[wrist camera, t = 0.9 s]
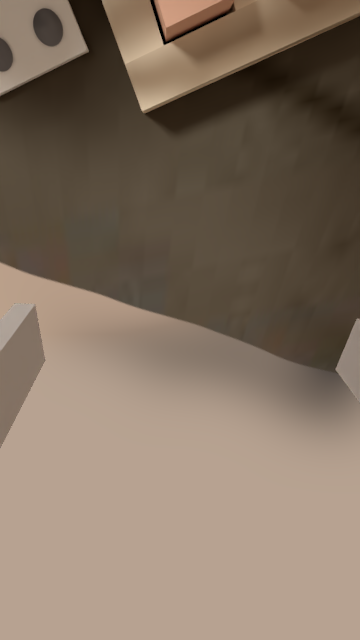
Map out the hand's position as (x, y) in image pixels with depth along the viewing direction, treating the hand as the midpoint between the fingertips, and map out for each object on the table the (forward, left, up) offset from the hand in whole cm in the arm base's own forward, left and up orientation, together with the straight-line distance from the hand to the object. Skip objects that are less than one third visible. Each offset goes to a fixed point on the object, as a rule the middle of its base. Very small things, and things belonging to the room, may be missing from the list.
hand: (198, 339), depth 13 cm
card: (-20, -7, -23) cm, 31 cm away
